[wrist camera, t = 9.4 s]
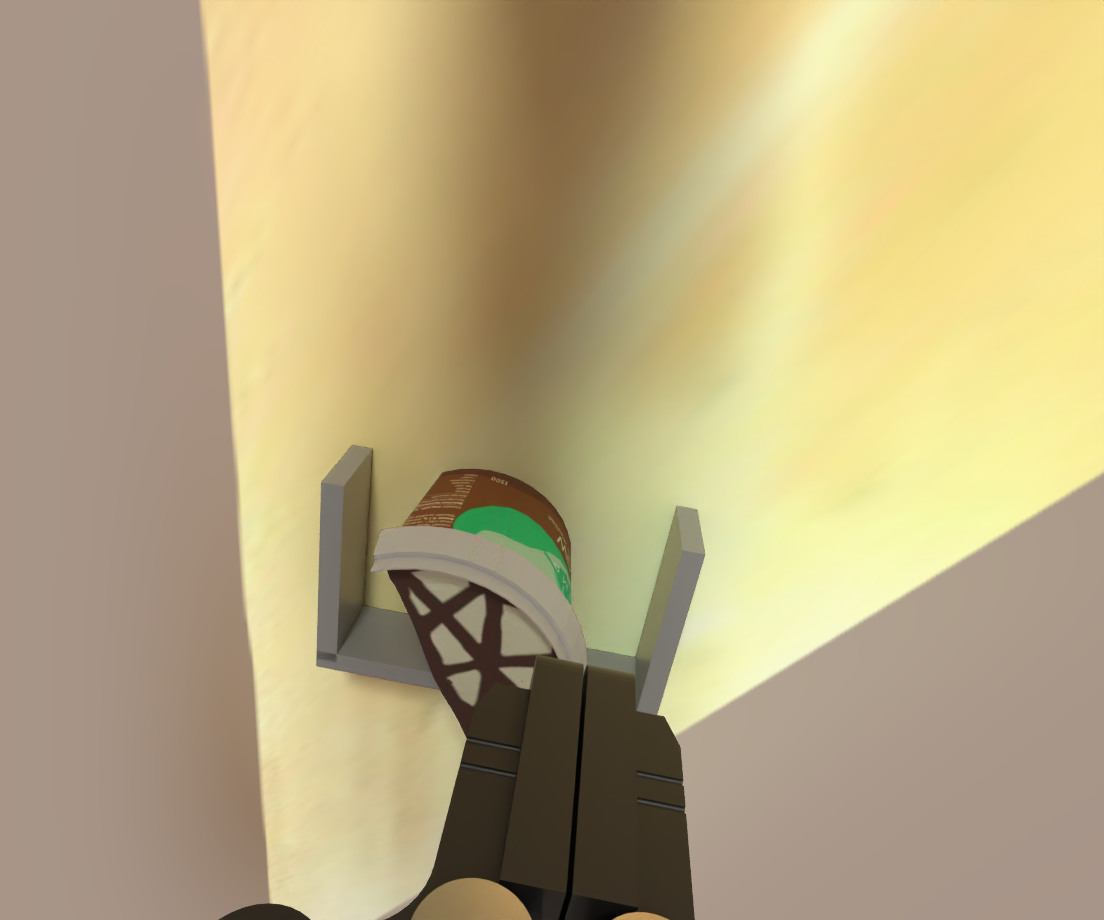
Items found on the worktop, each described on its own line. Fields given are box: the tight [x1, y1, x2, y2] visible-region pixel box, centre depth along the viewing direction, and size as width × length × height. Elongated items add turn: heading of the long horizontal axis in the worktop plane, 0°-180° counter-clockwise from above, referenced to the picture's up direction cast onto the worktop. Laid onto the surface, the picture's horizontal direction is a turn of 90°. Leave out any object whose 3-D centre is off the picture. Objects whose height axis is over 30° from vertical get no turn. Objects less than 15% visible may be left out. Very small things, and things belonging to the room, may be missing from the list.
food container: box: [371, 469, 587, 738], centre depth 32 cm, size 12×6×10 cm, turn 17°
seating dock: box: [316, 445, 705, 715], centre depth 36 cm, size 10×17×4 cm, turn 81°
